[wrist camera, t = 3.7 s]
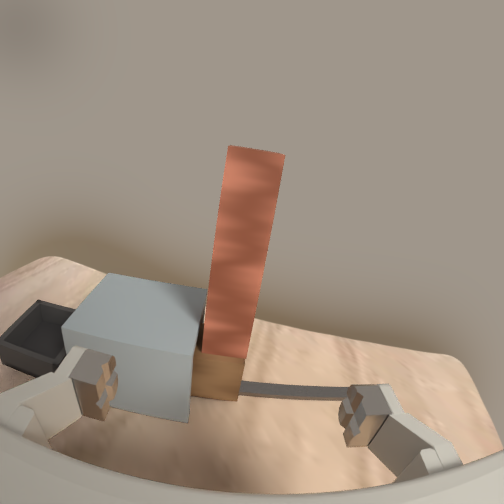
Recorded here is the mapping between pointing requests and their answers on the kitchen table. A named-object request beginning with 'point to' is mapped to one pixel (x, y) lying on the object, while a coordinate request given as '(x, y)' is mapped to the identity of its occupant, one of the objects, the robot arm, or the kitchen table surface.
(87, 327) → the tunnel
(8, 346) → the dark grey tray
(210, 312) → the upright post on base
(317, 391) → the rail
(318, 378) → the kitchen table surface
